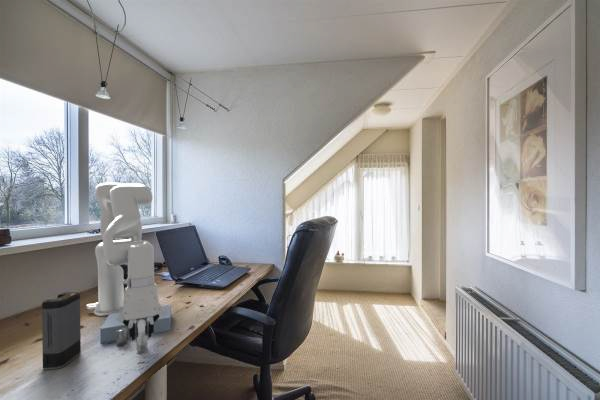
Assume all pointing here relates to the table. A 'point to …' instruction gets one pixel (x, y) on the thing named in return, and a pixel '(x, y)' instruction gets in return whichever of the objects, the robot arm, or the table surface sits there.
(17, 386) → the table surface
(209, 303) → the table surface
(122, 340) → the short pin
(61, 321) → the electronic device
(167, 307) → the bore block
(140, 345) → the long pin
